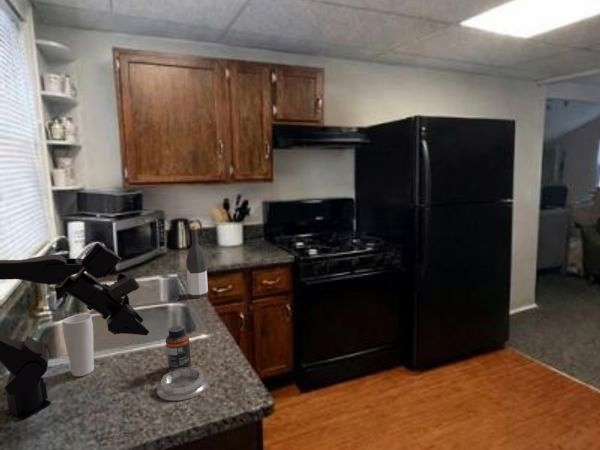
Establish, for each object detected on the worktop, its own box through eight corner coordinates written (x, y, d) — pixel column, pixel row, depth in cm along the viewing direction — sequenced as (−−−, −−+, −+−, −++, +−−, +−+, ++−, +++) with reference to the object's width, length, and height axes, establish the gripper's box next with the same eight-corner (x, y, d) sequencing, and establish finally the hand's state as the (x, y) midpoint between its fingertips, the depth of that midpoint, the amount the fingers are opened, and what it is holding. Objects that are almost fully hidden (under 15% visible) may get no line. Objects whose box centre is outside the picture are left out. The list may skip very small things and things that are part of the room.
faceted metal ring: (186, 405, 87) (185, 395, 87) (146, 394, 92) (145, 385, 92) (217, 379, 98) (217, 369, 98) (180, 370, 103) (179, 361, 102)
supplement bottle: (180, 360, 108) (177, 322, 107) (196, 365, 105) (193, 326, 104) (163, 370, 103) (159, 330, 102) (178, 376, 100) (175, 334, 98)
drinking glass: (91, 363, 108) (85, 311, 106) (102, 370, 104) (96, 317, 102) (64, 373, 103) (57, 319, 101) (74, 381, 99) (68, 325, 96)
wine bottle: (209, 296, 163) (205, 226, 159) (189, 299, 160) (184, 227, 156) (206, 291, 170) (202, 223, 166) (187, 294, 167) (182, 225, 163)
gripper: (119, 274, 85) (174, 312, 93) (112, 258, 102) (159, 292, 109) (82, 316, 83) (142, 351, 90) (81, 293, 99) (131, 325, 106)
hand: (145, 327), depth 98 cm, fingers open, 9 cm apart
